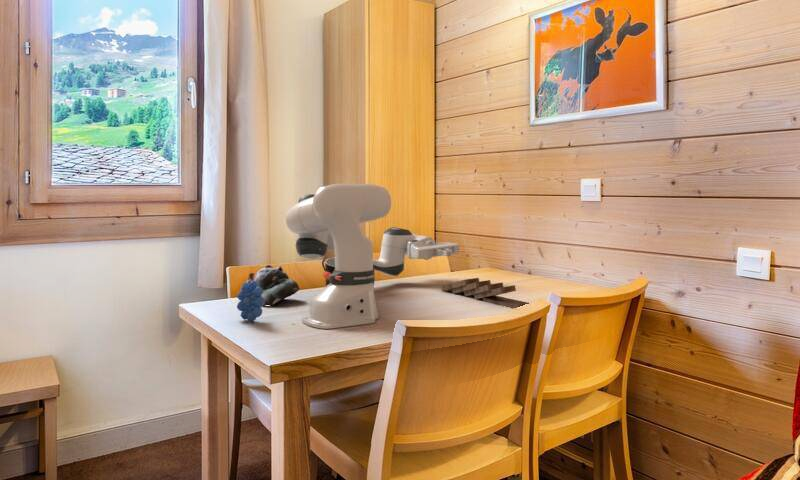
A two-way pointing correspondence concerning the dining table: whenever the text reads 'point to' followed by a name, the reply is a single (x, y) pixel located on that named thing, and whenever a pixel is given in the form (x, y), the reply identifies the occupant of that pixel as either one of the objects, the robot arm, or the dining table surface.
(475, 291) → the domino
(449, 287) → the domino
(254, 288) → the grapes
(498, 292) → the domino
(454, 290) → the domino
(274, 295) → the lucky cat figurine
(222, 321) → the dining table surface
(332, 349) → the dining table surface
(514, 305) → the domino
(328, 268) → the coffee mug
